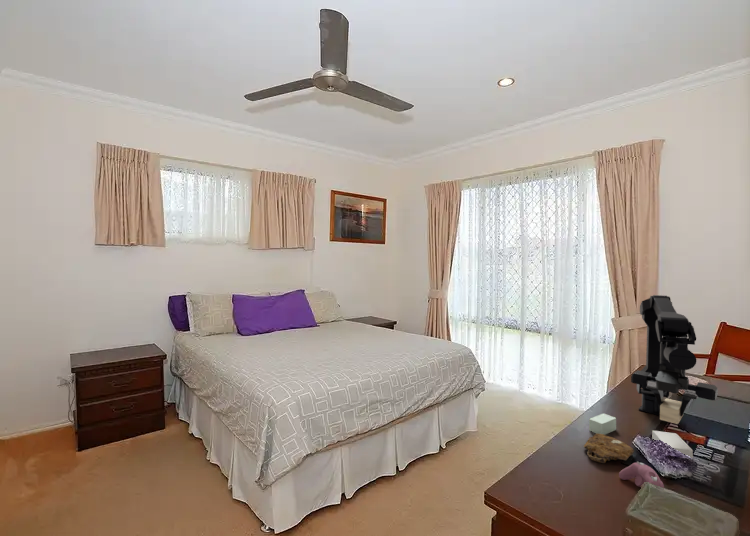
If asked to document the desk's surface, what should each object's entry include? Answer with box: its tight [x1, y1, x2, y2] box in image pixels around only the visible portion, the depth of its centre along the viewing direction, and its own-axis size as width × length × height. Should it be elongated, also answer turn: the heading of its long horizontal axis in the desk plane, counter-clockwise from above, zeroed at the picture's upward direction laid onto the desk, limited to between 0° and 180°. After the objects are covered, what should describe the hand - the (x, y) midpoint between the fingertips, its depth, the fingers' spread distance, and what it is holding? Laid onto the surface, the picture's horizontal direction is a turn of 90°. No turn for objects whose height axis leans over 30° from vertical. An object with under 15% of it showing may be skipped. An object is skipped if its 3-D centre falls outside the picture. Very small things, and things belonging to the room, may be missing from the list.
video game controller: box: [618, 461, 665, 489], centre depth 86 cm, size 10×5×7 cm, turn 169°
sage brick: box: [588, 412, 617, 435], centre depth 116 cm, size 8×4×4 cm, turn 119°
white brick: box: [651, 430, 694, 458], centre depth 104 cm, size 10×6×3 cm, turn 160°
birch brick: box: [659, 397, 684, 425], centre depth 104 cm, size 8×4×4 cm, turn 131°
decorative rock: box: [583, 433, 635, 464], centre depth 102 cm, size 11×4×15 cm
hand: (671, 413), depth 104 cm, fingers closed on birch brick, 4 cm apart
